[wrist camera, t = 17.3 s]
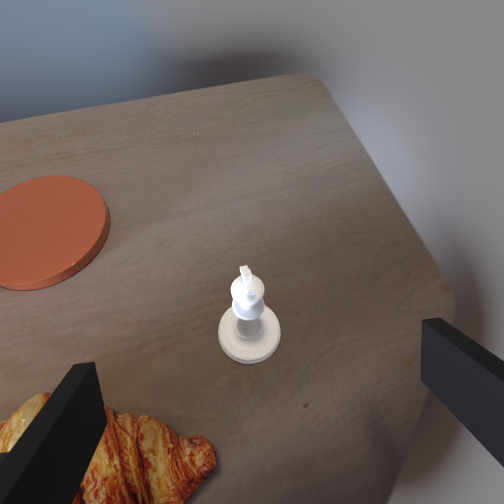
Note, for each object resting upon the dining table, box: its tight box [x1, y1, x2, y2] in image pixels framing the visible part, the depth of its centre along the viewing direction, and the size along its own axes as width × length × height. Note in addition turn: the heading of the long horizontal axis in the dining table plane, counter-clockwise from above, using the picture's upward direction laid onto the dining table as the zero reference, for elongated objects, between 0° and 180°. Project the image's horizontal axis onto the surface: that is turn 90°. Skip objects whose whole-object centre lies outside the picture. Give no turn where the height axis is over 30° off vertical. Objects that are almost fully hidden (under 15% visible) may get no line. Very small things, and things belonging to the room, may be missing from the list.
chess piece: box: [218, 265, 281, 364], centre depth 24 cm, size 5×5×10 cm
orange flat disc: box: [0, 176, 110, 290], centre depth 33 cm, size 12×12×1 cm
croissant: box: [0, 393, 217, 504], centre depth 20 cm, size 21×10×8 cm, turn 101°
